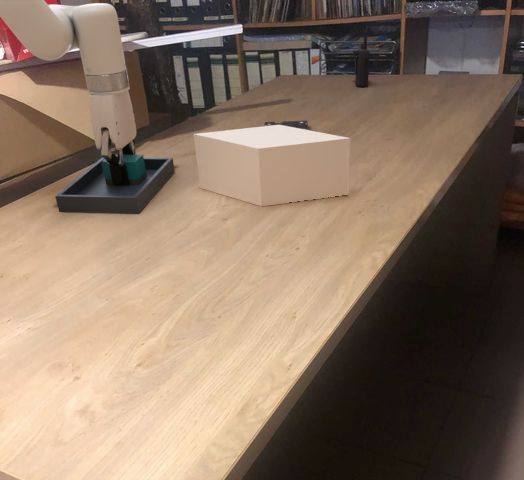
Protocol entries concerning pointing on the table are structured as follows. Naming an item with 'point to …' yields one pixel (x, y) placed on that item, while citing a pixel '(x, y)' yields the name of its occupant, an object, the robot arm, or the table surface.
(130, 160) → the eraser
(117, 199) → the tray
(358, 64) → the two-way radio
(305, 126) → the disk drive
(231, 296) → the table surface
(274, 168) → the white rectangular box
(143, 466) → the table surface
